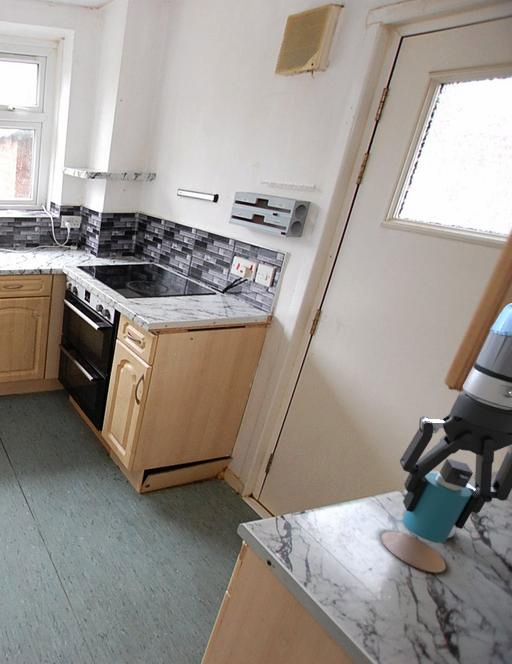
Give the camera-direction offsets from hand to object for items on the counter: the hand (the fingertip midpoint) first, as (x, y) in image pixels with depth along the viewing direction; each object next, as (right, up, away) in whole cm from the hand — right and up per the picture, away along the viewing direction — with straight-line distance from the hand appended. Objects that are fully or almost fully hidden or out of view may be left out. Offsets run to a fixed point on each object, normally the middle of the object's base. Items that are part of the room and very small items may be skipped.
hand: (431, 514), depth 80 cm
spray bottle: (0, -3, +1) cm, 3 cm away
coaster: (-1, -8, +3) cm, 8 cm away
